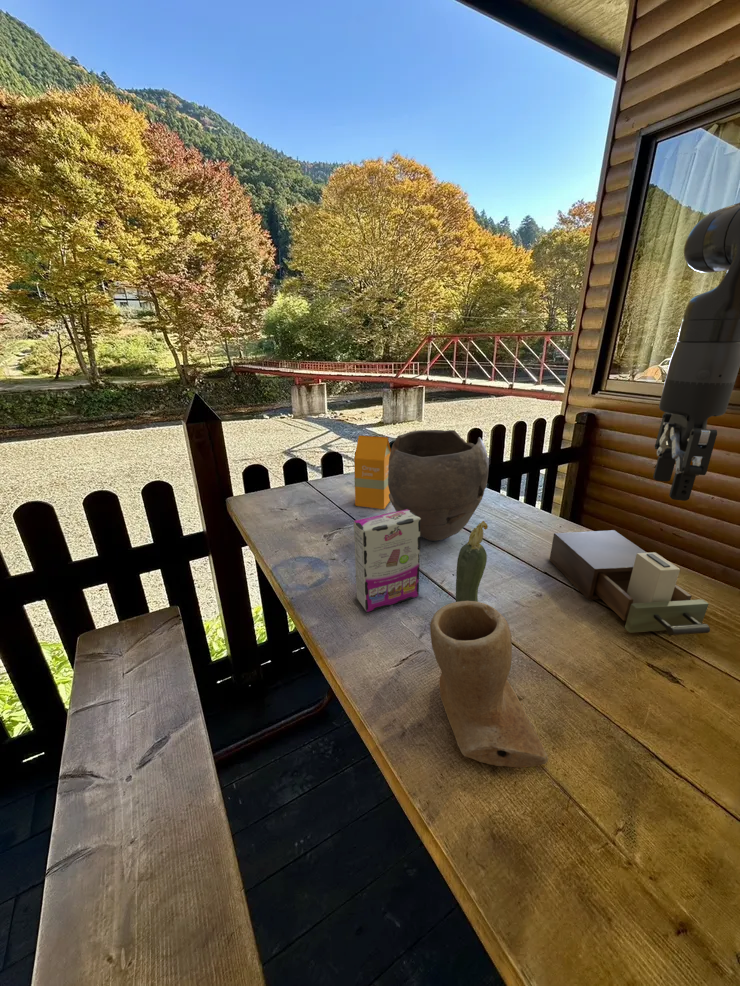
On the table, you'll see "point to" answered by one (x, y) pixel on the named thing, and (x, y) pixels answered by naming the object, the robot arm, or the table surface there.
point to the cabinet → (591, 557)
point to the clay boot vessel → (482, 686)
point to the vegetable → (471, 566)
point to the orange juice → (372, 472)
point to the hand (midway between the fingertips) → (669, 489)
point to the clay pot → (437, 479)
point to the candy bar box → (387, 559)
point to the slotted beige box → (652, 579)
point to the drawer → (652, 607)
